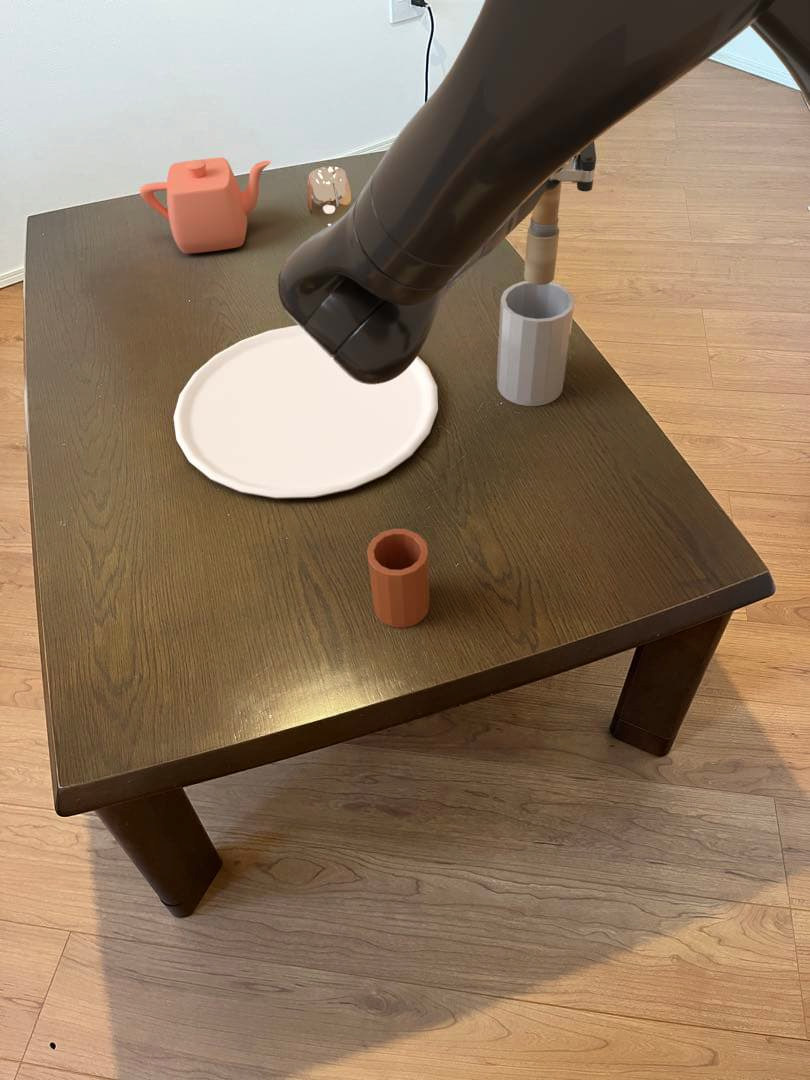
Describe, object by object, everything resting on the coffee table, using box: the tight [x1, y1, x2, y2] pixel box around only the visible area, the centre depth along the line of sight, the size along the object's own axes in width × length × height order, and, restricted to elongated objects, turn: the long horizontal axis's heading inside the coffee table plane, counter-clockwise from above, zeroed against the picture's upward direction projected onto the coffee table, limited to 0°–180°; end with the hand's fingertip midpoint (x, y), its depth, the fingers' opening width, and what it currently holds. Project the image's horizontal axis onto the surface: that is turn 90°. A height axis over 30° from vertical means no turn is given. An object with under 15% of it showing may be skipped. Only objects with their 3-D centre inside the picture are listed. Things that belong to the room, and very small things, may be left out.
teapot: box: [139, 157, 272, 254], centre depth 114 cm, size 12×18×10 cm, turn 100°
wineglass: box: [306, 165, 354, 227], centre depth 107 cm, size 6×6×12 cm
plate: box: [173, 324, 439, 499], centre depth 92 cm, size 29×29×1 cm
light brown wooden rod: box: [523, 181, 563, 285], centre depth 75 cm, size 3×3×20 cm
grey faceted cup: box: [496, 280, 576, 407], centre depth 89 cm, size 7×7×11 cm
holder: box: [366, 528, 431, 629], centre depth 71 cm, size 5×5×8 cm
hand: (567, 115), depth 74 cm, fingers closed on light brown wooden rod, 2 cm apart
